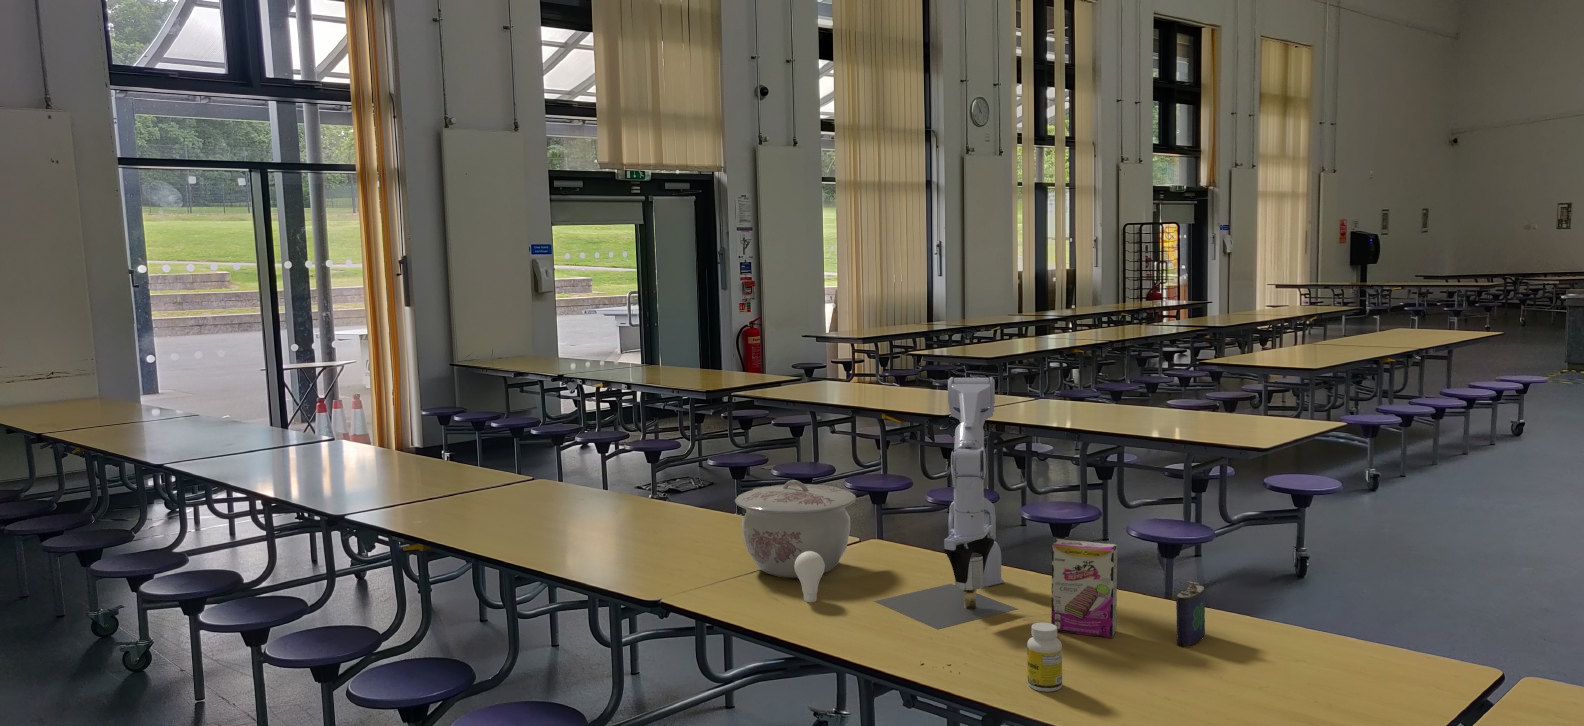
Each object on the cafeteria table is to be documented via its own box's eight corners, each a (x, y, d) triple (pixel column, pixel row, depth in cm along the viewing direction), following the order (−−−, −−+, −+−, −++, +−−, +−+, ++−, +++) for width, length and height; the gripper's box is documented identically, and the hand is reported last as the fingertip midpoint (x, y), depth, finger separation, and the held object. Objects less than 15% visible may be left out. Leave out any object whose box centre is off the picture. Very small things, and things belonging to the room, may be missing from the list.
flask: (1193, 631, 187) (1194, 574, 186) (1209, 634, 185) (1210, 576, 184) (1173, 645, 180) (1173, 586, 179) (1189, 649, 178) (1190, 589, 177)
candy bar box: (1050, 631, 189) (1050, 544, 187) (1055, 623, 193) (1055, 537, 192) (1113, 639, 184) (1114, 549, 182) (1117, 630, 188) (1117, 543, 187)
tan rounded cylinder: (971, 604, 202) (971, 584, 202) (979, 607, 200) (979, 587, 200) (960, 607, 201) (959, 587, 200) (968, 610, 199) (968, 590, 198)
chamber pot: (861, 587, 218) (859, 491, 217) (732, 589, 219) (729, 494, 217) (854, 551, 246) (853, 466, 245) (740, 553, 247) (738, 469, 245)
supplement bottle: (1023, 680, 167) (1022, 621, 166) (1055, 678, 167) (1055, 619, 166) (1033, 693, 161) (1033, 633, 160) (1067, 691, 162) (1067, 631, 161)
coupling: (964, 580, 204) (963, 550, 203) (988, 584, 200) (987, 554, 200) (950, 586, 200) (949, 556, 199) (974, 591, 196) (973, 560, 196)
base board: (951, 588, 216) (950, 583, 216) (1018, 613, 199) (1018, 608, 199) (873, 605, 206) (873, 601, 206) (937, 634, 189) (937, 629, 188)
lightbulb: (826, 600, 210) (825, 547, 209) (824, 609, 204) (823, 555, 203) (796, 600, 211) (795, 547, 210) (793, 609, 205) (792, 555, 204)
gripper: (971, 500, 207) (971, 566, 208) (930, 514, 196) (931, 583, 197) (1001, 505, 202) (1002, 572, 203) (962, 519, 191) (962, 590, 192)
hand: (969, 578), depth 200 cm, fingers closed on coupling, 5 cm apart
